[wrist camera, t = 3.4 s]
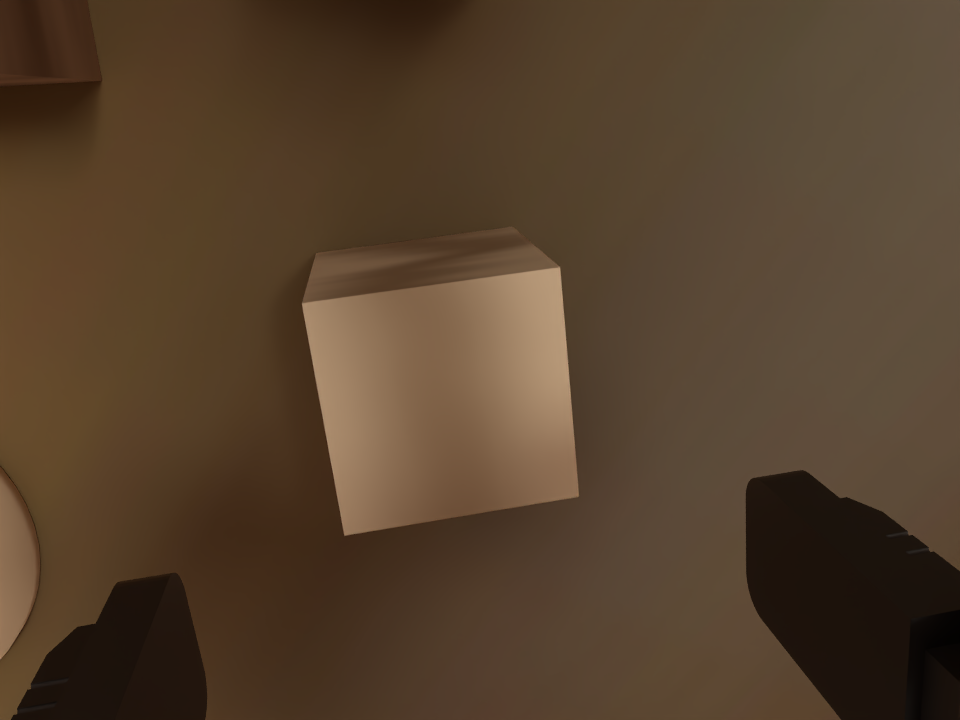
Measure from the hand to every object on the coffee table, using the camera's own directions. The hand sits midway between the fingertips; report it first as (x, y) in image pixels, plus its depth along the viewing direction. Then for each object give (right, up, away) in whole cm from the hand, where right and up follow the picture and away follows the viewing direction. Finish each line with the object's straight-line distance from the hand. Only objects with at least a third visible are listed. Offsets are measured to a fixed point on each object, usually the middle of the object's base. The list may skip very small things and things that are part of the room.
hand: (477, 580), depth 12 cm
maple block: (-1, +4, +13) cm, 13 cm away
